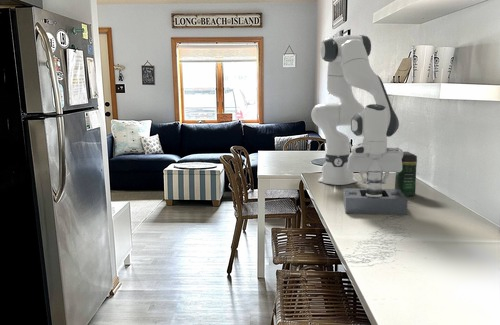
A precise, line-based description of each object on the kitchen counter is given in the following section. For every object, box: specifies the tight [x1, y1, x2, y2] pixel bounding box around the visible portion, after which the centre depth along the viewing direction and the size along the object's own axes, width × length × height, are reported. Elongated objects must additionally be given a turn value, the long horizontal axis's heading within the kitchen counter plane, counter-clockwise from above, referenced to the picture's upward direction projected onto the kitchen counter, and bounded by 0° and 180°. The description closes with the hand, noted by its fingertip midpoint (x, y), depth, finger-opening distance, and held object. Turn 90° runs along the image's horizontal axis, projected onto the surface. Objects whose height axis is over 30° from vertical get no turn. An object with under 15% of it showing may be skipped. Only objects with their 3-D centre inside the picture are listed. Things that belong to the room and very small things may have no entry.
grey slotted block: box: [342, 187, 408, 216], centre depth 164 cm, size 15×22×6 cm
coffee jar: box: [394, 151, 418, 197], centre depth 183 cm, size 10×8×19 cm
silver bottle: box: [365, 158, 384, 197], centre depth 163 cm, size 6×7×20 cm
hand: (373, 183), depth 163 cm, fingers closed on silver bottle, 6 cm apart
